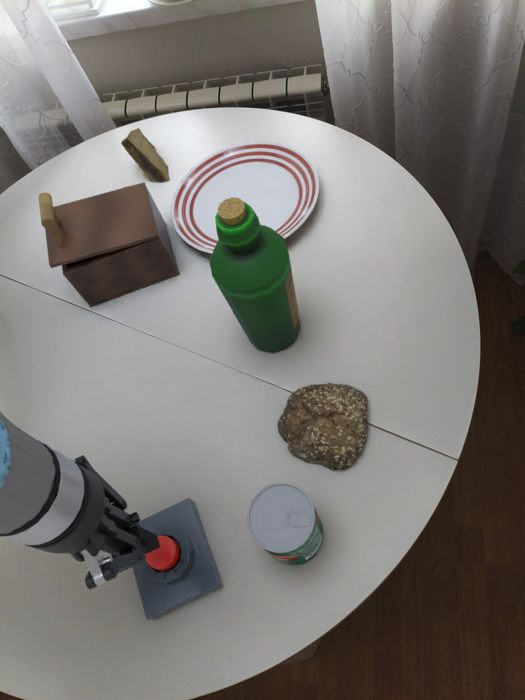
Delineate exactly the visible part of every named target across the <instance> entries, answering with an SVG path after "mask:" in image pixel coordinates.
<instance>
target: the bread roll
mask: <svg viewBox="0 0 525 700" xmlns="http://www.w3.org/2000/svg"><path fill="white" fill-rule="evenodd" d="M368 406H369V405H368V397H367V395H366V394H365V393H364V392H363V391H362V390H360V389H358V388H356V387H354V386H351V385H349V384H344V383H343V384H342V383H331V382H327V383H323V384H322V383H320V384H319V383H318V384H315V383H314V384H310V385H309V384H308V385H307V386H302V387H299V388H297V389H296V390H293V391H292V392H291V394H290V395H289V397H288V398H287V400H286V404H285V407H284V409H283V413H282V414H281V415H280V416H279V418H278V420H277V423H276V424H277V429H278V430H277V431H278V434H279V436H280V437H281V438H282V440H283V441H284V442H286V443H287V444H288V445H287V449H288V451H289V452H290V454H291V455H293V456H295V458H298V459H301V460H303V461H304V462H306V463H310V464H320V465H322V466H325V467H327V468H328V469H329V470H331V471H335V470H338V469H340V470H344V469H346V468H349V467H351V466H352V465H353V464H354V463H355V462H356V461H357V458H358V457H359V455H361V453H362V452H363V448H364V447H365V444H366V442H367V437H368V428H369V427H368V425H369V424H368V423H369V421H368V420H369V419H368V418H369V413H368V412H369V408H368Z"/></svg>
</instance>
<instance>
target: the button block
mask: <svg viewBox="0 0 525 700" xmlns="http://www.w3.org/2000/svg"><path fill="white" fill-rule="evenodd" d="M138 524H139V526H140V527H142V528H144V529H146V530H148V531H149V532H151V533H153V534H155V535H157V536H167V537H169V538H171V539H173V540H174V541H175V542H176V543H177V544H178V546H179V549H180V556H179V559H178V561H177V563H176V564H175V566H173V567H172V568H171V569H169V570H166V571H161V570H158V569H155V568H152V567H151V566H150V565H149V564H148V563H147V561H146V557H145V555H143V556H142V558H143V562H142V563H140V564H138V565H135V566H133V567H132V570H133V574H134V578H135V581H136V585H137V588H138V592H139V597H140V600H141V604H142V608H143V612H144V615H145V619H146V620H149V621H155V620H156V619H158V618H161V617H163V616H165V615H167V614H169V613H171V612H173V611H175V610H177V609H179V608H182V607H183V606H186V605H188V604H190V603H192V602H194V601H197V600H198V599H200V598H203V597H205V596H206V595H209V594H210V593H212V592H215V591H216V590H219V589H221V588H223V587H224V584H223V581H222V579H221V575H220V573H219V569H218V566H217V564H216V561H215V559H214V555H213V553H212V552H213V551H212V549H211V546H210V543H209V540H208V538H207V535H206V532H205V529H204V526H203V523H202V520H201V517H200V514H199V512H198V508H197V506H196V503H195V501H194V500H193V499H191V498H190V497H188V498H186V499H184V500H182V501H180V502H178V503H175V504H173V505H171V506H169V507H167V508H165V509H163V510H161V511H159V512H157V513H154V514H152V515H150V516H148V517H146V518H144V519H142V520H140V522H138Z"/></svg>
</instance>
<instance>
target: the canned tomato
mask: <svg viewBox="0 0 525 700" xmlns="http://www.w3.org/2000/svg"><path fill="white" fill-rule="evenodd" d="M246 516H247V517H246V521H247V529H248V531H249V534H250V536H251V537H252V539H253V540H254V542H255V543H256V544H257V545H258V546H260V548H261V549H263V550H264V551H265V552H267V553H268V554H269V555H270V556H271V557H272V559H274V560H275V561H277V562H278V563H280V564H282V565H284V566H288V567H300V566H304V565H306V564H308V563H310V562H312V561H313V560H314V559H315V558H316V557H317V556H318V555H319V553H320V552H321V550H322V549H323V545H324V540H325V528H324V525H323V522H322V520H321V518H320V516H319V515H318V512H317V510H316V508H315V506H314V503H313V501H312V499H311V498H310V496H309V494H308V493H307V492H306V491H305V490H304V489H302V488H301V487H299V486H297V485H296V484H293V483H289V482H275V483H270V484H269V485H267V486H264V487H263V488H261V489H260V490H259V491H258V492H257V493H256V494H255V495H254V497H253V498H252V500H251V501H250V504H249V506H248V509H247V515H246Z"/></svg>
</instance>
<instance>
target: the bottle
mask: <svg viewBox="0 0 525 700" xmlns="http://www.w3.org/2000/svg"><path fill="white" fill-rule="evenodd" d="M215 221H216V230H217V235H218V239H219V240H218V242H217V244H216V246H215V248H214V251H213V253H212V254H210V257H209V261H208V262H209V266H210V270H211V271H210V272H211V276H212V278H213V280H214V282H215V284H216V285H217V287H218V289H219V291H220V293H221V294H222V296H223V297H224V300H225V301H226V302H227V305H228V306H229V308H230V309H231V312H232V313H233V315H234V317H235V318H236V320H237V322H238V324H239V325H240V327H241V329H242V330H243V333H244V334H245V336H246V337H247V339H248V341H249V342H250V343H251V344H252V345H253V346H254V347H255V348H256V349H258V350H259V351H263V352H268V353H275V352H279V351H282V350H286V349H287V348H288V347H290V346H291V345H292V344H293V343H294V342H295V341H296V340H297V339H298V336H299V333H300V330H301V320H300V315H299V314H300V313H299V308H298V307H299V306H298V302H297V295H296V290H295V289H296V288H295V283H294V277H293V271H292V264H291V258H290V253H289V249H288V246H287V242H286V238H283V237H282V236H281V235H279V234H278V233H277V232H276V231H274V230H273V229H272V228H270V227H267V226H265V225H260V222H259V218H258V216H257V215H256V213H255V212H254V210H253V209H252V207H251V206H250V205H248V204H247V203H246V202H244V201H242V200H241V199H240V198H234V197H232V198H229V199H225V200H224V201H223V202H222V203H220V205H219V207H218V212H217V214H216V216H215Z"/></svg>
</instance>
